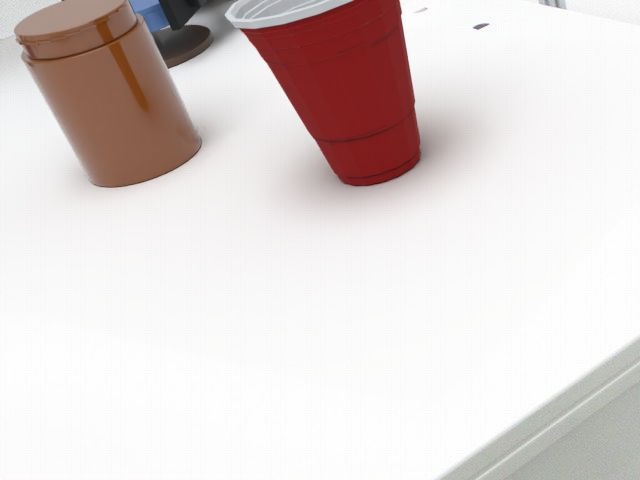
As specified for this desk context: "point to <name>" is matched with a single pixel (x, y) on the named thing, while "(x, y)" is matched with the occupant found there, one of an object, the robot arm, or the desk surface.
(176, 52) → the coaster
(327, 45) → the plastic cup
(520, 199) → the desk surface
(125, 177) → the jar
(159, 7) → the lid
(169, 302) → the desk surface
